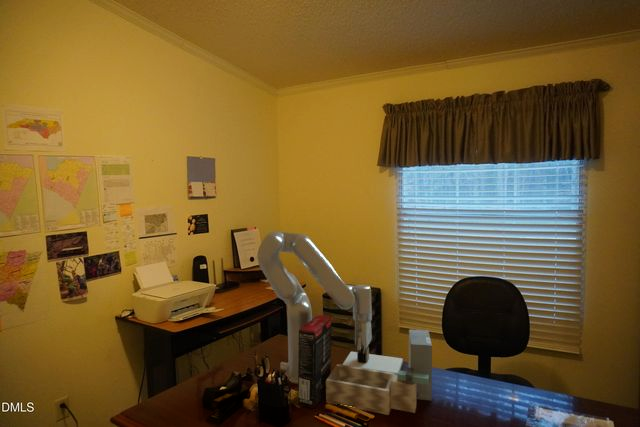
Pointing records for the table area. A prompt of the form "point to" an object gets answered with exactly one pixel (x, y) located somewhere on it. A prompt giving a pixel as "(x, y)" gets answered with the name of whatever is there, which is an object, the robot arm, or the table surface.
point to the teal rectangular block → (414, 377)
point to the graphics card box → (314, 360)
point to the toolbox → (371, 389)
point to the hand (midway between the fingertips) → (363, 359)
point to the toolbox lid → (375, 362)
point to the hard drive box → (421, 360)
